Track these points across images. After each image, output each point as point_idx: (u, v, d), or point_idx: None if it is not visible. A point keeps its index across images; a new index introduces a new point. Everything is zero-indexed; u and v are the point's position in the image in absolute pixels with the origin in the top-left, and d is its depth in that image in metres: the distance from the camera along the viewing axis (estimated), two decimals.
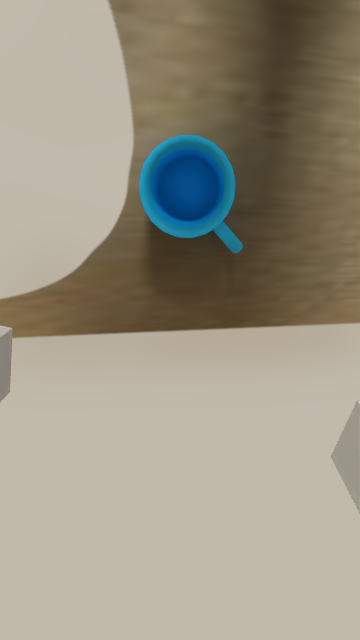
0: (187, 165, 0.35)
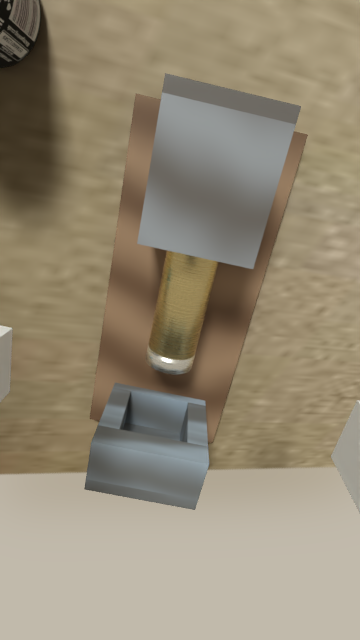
0: None
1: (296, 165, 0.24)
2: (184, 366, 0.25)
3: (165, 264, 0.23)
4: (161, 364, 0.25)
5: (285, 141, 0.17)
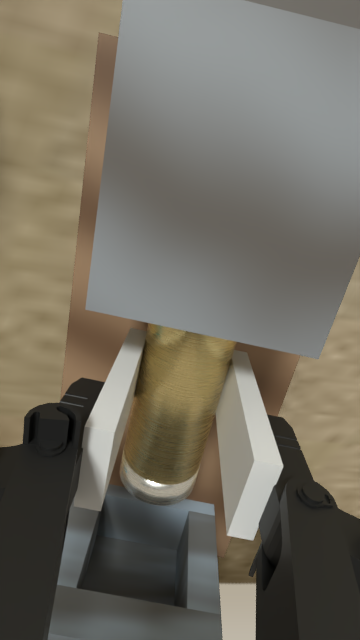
0: None
1: None
2: (182, 491, 0.15)
3: (149, 328, 0.13)
4: (143, 490, 0.15)
5: None
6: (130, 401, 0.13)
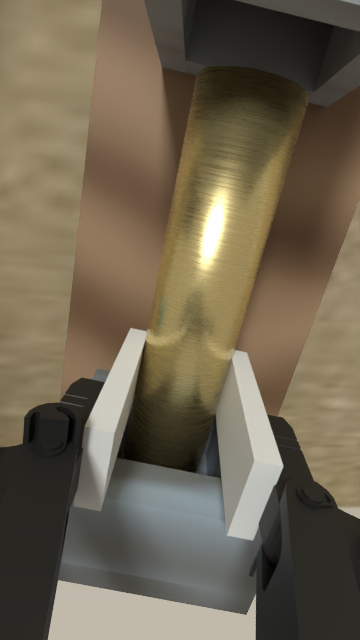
0: None
1: None
2: None
3: (149, 328, 0.13)
4: None
5: None
6: (130, 401, 0.13)
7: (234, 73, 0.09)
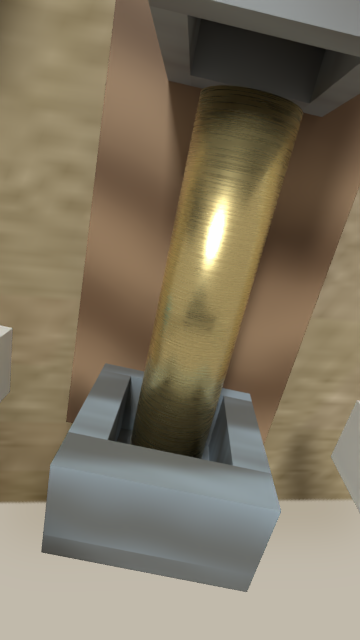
0: None
1: None
2: None
3: (155, 325, 0.14)
4: None
5: None
6: None
7: (234, 92, 0.10)
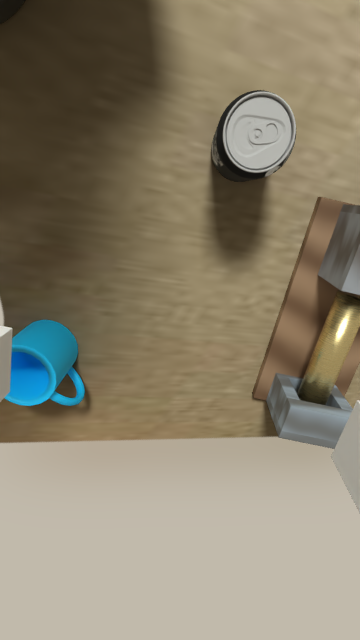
0: None
1: None
2: None
3: (314, 361, 0.42)
4: None
5: None
6: None
7: (353, 300, 0.38)
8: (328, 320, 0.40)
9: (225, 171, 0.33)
